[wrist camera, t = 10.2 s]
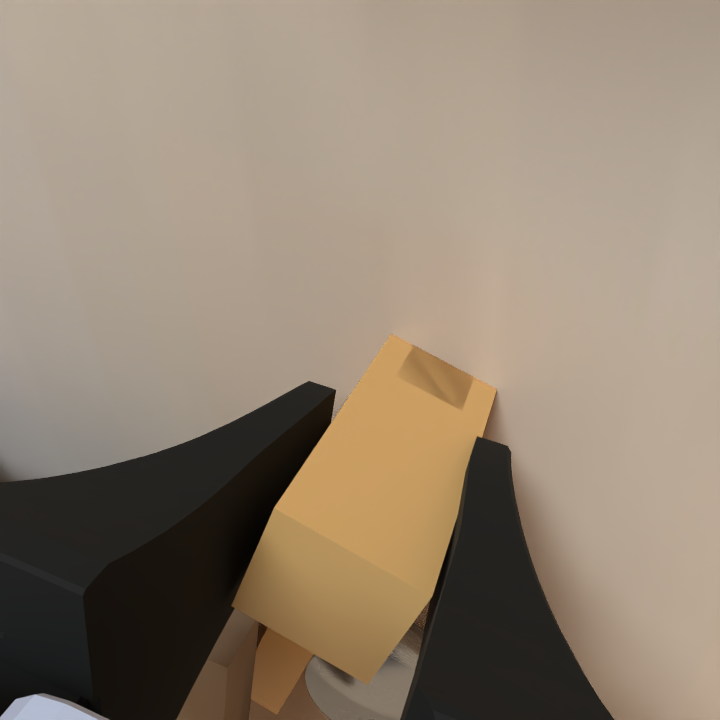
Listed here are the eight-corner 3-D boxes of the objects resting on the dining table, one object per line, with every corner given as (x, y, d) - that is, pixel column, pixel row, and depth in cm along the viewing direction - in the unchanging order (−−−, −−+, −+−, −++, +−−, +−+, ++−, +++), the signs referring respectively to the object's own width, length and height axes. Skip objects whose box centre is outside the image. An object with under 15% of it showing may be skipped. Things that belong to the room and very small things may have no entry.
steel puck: (310, 654, 21) (289, 698, 20) (348, 581, 19) (328, 625, 18) (422, 716, 21) (408, 765, 20) (474, 650, 19) (463, 699, 17)
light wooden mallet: (241, 645, 22) (131, 834, 17) (391, 333, 15) (273, 507, 10) (309, 685, 22) (218, 889, 17) (496, 389, 14) (432, 596, 9)
